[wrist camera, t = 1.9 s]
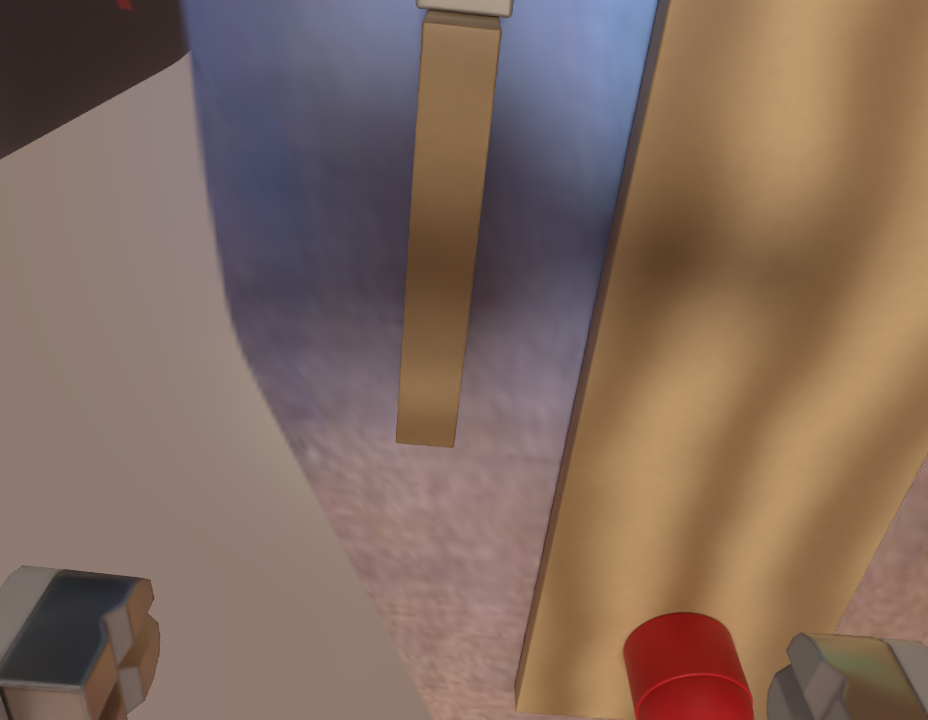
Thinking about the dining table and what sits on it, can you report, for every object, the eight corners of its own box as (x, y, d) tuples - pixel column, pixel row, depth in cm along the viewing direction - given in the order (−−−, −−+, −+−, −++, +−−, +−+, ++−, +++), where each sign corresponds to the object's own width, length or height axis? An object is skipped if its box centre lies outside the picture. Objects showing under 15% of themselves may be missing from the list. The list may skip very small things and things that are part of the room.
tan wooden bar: (502, 395, 26) (505, 453, 24) (357, 382, 26) (343, 439, 23) (606, -304, 17) (632, -343, 14) (378, -333, 16) (359, -379, 14)
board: (514, 688, 34) (515, 712, 33) (843, -882, 13) (875, -949, 12) (773, 707, 35) (782, 732, 34) (1516, -775, 13) (1603, -832, 12)
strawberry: (613, 678, 32) (634, 800, 28) (635, 607, 30) (663, 728, 26) (716, 686, 32) (753, 809, 28) (745, 616, 30) (791, 738, 26)
